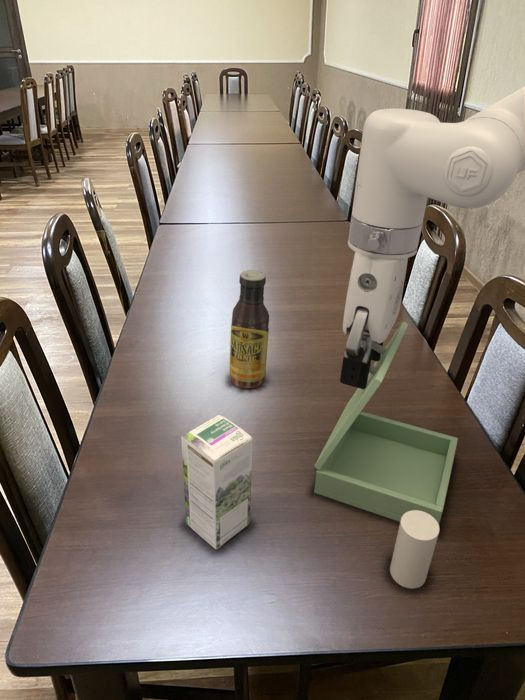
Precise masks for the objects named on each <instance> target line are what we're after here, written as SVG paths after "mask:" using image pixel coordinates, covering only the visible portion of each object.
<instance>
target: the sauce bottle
mask: <svg viewBox="0 0 525 700" xmlns="http://www.w3.org/2000/svg"><path fill="white" fill-rule="evenodd" d="M266 278H267V276H266V274H265V273H264V272H262V271H260V270H255V269H247V270H243V271H242V272H240V274H239V281H238V282H239V285H240V286H239V288H240V291H239V299H238V301H237V302H236V304H235V305H234V307H233V308H232V313H231V316H232V317H231V325H230V343H229V371H228V372H229V379H230V380H229V381H230V382H231V384H233V385H234V386H235V387H237V388H240V389H256V388H258V387H260V386H261V385H262V384H263V383H264V381H265V377H266V373H267V372H266V371H267V358H268V347H269V332H270V328H269V323H270V314H269V311H268V309H267V307H266V306H265V303H264V302H265V301H264V300H265V296H264V294H265V285H266V281H267V279H266Z"/></svg>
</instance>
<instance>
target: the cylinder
mask: <svg viewBox="0 0 525 700" xmlns="http://www.w3.org/2000/svg"><path fill="white" fill-rule="evenodd" d="M440 531H441V530H440V524H439V525H438V523H437V521H436V520H435V519H434V518H433V517H432V516H431V515H429V514H428V513H426V512H423V511H418V510H412V511H408V512H406V513H405V514H404V515H403V516H402V518H401V521H400V522H399V526H398V530H397V534H396V540H395V543H394V547H393V553H392V557H391V561H390V566H389V573H390V575H391V578H392V579H393V580H394V581H395V583H397V584H398V585H400V586H401V587H403V588H406V589H419V588H421V587H422V586H424V584H425V582H426V580H427V577H428V573H429V570H430V566H431V563H432V559H433V555H434V552H435V548H436V545H437V541H438V538H439V534H440Z"/></svg>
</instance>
